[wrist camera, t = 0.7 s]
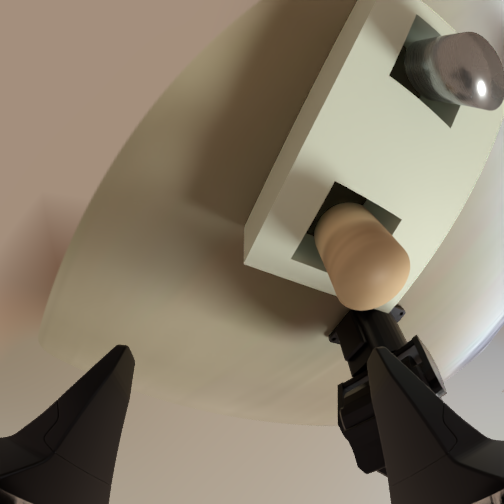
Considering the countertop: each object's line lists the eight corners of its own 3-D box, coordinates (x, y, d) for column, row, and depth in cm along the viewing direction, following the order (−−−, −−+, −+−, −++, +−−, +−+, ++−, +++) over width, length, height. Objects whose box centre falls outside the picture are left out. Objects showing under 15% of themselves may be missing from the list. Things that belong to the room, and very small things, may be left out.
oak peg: (385, 218, 15) (423, 259, 11) (353, 268, 17) (378, 317, 13) (335, 191, 14) (367, 227, 10) (302, 248, 16) (319, 298, 12)
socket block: (469, 90, 14) (509, 97, 9) (367, 276, 23) (388, 313, 19) (357, -1, 11) (388, -24, 7) (244, 227, 20) (243, 264, 16)
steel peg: (459, 68, 10) (510, 72, 6) (441, 113, 12) (494, 126, 8) (415, 28, 9) (465, 16, 5) (395, 74, 11) (447, 71, 7)
